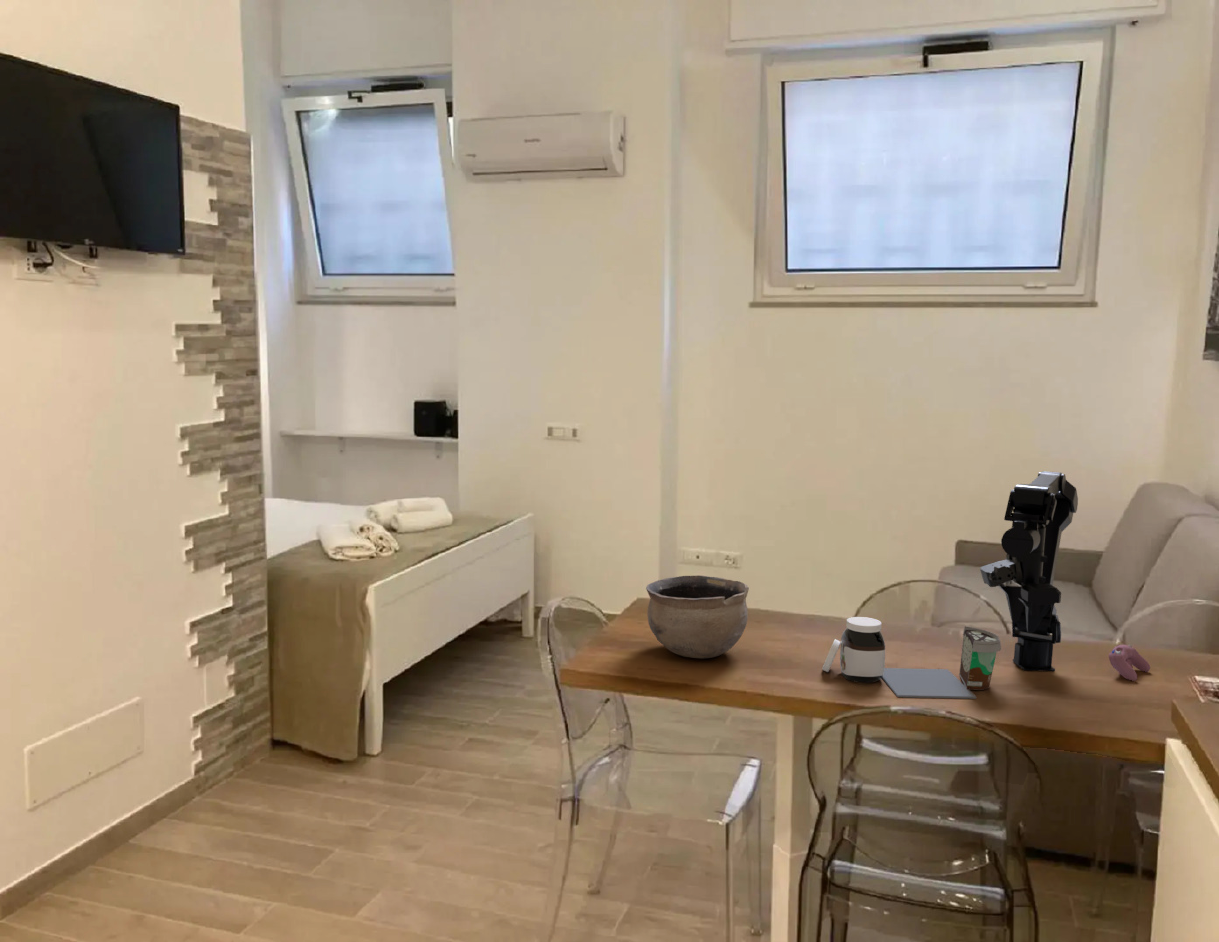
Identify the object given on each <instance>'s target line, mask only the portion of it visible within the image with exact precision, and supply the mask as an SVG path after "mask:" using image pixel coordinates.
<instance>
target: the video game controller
mask: <svg viewBox="0 0 1219 942" xmlns="http://www.w3.org/2000/svg"><path fill="white" fill-rule="evenodd" d="M1108 658H1109V664H1110V665H1111V667H1112V668H1113V669H1114V670H1115V671H1117V672H1118V673H1119V675H1120V676H1122V677H1123V678H1125V679H1126V680H1128V679H1129V680H1128V681H1130V680H1132V681H1131V682H1135V681H1136V680H1138V673H1136V671H1135V670H1134V667H1135V668H1136V669H1137V670H1140V672H1144V671H1145V672H1144V673H1149V672H1150V671H1151V665H1150V663H1149V662H1148V660H1146V659H1145V658H1144V657H1143V656H1142V655H1141V654H1140V653H1139V652H1138V650H1137V649H1136V648H1135V647H1133V646H1132V645H1131V644H1128V645H1127V644H1118V645H1116V646H1114V647H1113V649H1112V650H1111V651H1110V652H1109V653H1108Z"/></svg>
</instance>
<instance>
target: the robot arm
mask: <svg viewBox="0 0 1219 942" xmlns="http://www.w3.org/2000/svg"><path fill="white" fill-rule="evenodd" d="M1007 500H1008V501H1007V505H1006V510H1005V513H1004V518H1003V519H1004V521H1006V522H1012V523H1011V527H1010V528H1009V529H1007V530H1006V531H1005V532H1004V533H1003V535H1002V537H1001V540H1000V542H1001V543H1000V544H1001V547H1002V550H1003V552H1004V553H1006V555H1005V559H1003V560H999V561H995V562H992V563H989V564H985V565H983V566H980V567H979V569H980V574H981V577H982V579H983V582H984V584H985V585H987V586H988V587H990V588H996V587H998V588H999V589H1001V591H1003V593H1004V594H1005V597H1006V601H1007V606H1008V610H1009V615H1010V619H1011V626H1012V628H1011V632H1012V633H1011V637H1012V638H1017V640H1016V641H1017V642H1015V643H1014V654H1013V655H1014V656H1013V659H1012V662H1013V663H1014V664H1015V665H1017V666H1018V667H1019V668H1020V669H1022V670H1024V671H1026V672H1030V671H1031V672H1038V671H1039V672H1055V671H1056V668H1055V667H1053V666H1052V664H1053V655H1054V654H1053V652H1054V645H1056V644H1059V643H1060V644H1061V643H1062V627H1061V626H1062V625H1061V621H1060V619H1059V615H1058V614H1057V613H1058V612H1057V608H1056V606H1055V604H1060V603H1061V600H1062V592H1061V591H1060V590H1059V589H1058V588H1057V587H1055V586H1054V580H1055V574H1056V568H1057V563H1058V562H1057V560H1058V558H1059V557H1058V556H1059V549H1060V544H1061V539H1062V533H1063V531H1064V530H1066V528H1068V527H1069V526H1070V525H1071V524H1072V522H1073V517H1074V514H1076V513H1077V511H1078V505H1079V498H1078V490H1077V488H1076V487H1075V485H1073V484H1072V483H1070V482H1069V480H1067V478H1066V474H1064V473H1063V472H1059V471H1058V472H1057V471H1044V470H1043V471H1041V472H1040V471H1039V472H1038V473H1037V477H1035V479H1034V480H1033V481H1032V482H1030V483H1018V484H1016V485H1015V486H1014V488H1013V489H1011V490H1010V492H1009V496H1008V499H1007Z"/></svg>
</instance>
